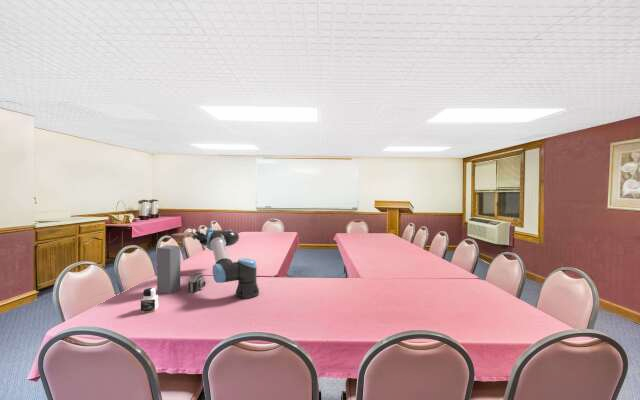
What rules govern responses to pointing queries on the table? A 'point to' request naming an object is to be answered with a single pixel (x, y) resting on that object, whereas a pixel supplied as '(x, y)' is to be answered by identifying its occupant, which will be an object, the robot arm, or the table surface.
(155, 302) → the medicine bottle
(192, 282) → the camera
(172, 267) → the charcoal pedestal
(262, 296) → the table surface
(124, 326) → the table surface
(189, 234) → the walnut paddle board
